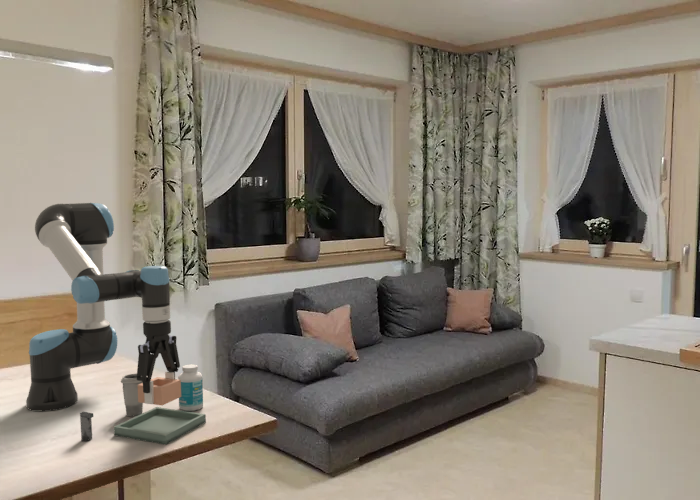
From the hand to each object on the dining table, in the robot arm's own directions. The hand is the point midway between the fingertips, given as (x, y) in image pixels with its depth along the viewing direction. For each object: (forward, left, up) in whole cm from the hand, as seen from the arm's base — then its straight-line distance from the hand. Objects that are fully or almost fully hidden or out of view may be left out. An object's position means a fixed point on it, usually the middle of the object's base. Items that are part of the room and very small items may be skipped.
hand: (160, 398), depth 183 cm
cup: (-16, +7, -9) cm, 20 cm away
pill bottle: (-3, +18, -9) cm, 21 cm away
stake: (-14, -14, -9) cm, 22 cm away
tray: (0, 0, -9) cm, 9 cm away
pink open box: (0, 0, 0) cm, 0 cm away
